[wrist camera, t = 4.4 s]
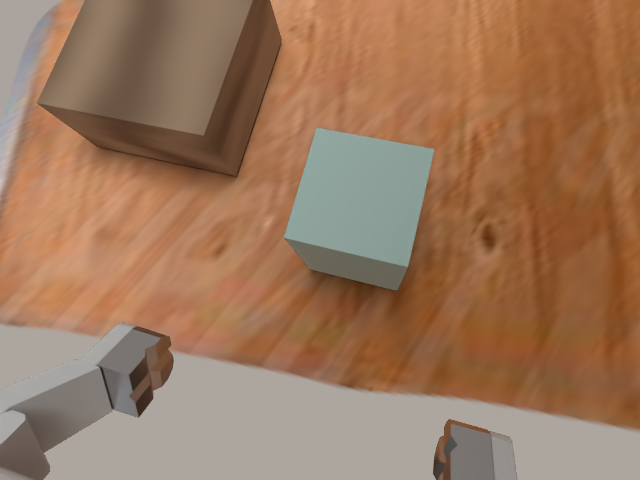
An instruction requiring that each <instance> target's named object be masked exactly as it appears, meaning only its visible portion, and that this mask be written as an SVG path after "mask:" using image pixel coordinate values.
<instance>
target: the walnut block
mask: <svg viewBox="0 0 640 480" xmlns="http://www.w3.org/2000/svg"><path fill="white" fill-rule="evenodd" d="M281 41H282V39H281V36H280V32H279V29H278V26H277V22H276V19H275V16H274V12H273V9H272V5H271V2H270V0H85V1H84V4H83V6H82V8H81V10H80V12H79V14H78V16H77V19H76V21H75V23H74V25H73V27H72V29H71V31H70V33H69V36H68V38H67V40H66V42H65V44H64V46H63V48H62V50H61V53H60V55H59V57H58V59H57V61H56V63H55V65H54V68H53V70H52V72H51V74H50V76H49V78H48V80H47V82H46V85H45V87H44V89H43V91H42V93H41V95H40V97H39V100H38V102H37V104H39V105H40V106H42V107H43V108H44V109H46V110H47V111H49V112H50V113H51V114H53V115H54V116H55V117H57V118H58V119H60V120H61V121H62V122H64V123H65V124H66V125H68V126H69V127H71V128H72V129H73V130H75V131H76V132H78V133H79V134H80V135H82V136H83V137H84V138H86V139H87V140H89V141H90V142H91V143H93V144H94V145H96V146H97V147H101V148H106V149H111V150H116V151H120V152H125V153H130V154H134V155H139V156H144V157H149V158H153V159H158V160H163V161H168V162H172V163H177V164H182V165H186V166H191V167H196V168H201V169H205V170H210V171H215V172H220V173H224V174H229V175H234V176H236V175H237V172H238V169H239V166H240V163H241V160H242V157H243V154H244V151H245V148H246V145H247V142H248V139H249V136H250V133H251V130H252V127H253V124H254V121H255V118H256V115H257V112H258V109H259V106H260V103H261V101H262V98H263V95H264V92H265V89H266V86H267V83H268V80H269V77H270V74H271V71H272V68H273V65H274V62H275V59H276V56H277V53H278V50H279V47H280V44H281Z"/></svg>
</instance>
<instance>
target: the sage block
mask: <svg viewBox="0 0 640 480" xmlns="http://www.w3.org/2000/svg"><path fill="white" fill-rule="evenodd" d="M434 150H435V149H432V148H426V147H421V146H415V145H409V144H404V143H398V142H393V141H387V140H382V139H376V138H371V137H365V136H360V135H354V134H349V133H343V132H338V131H332V130H327V129H321V128H316V131H315V135H314V138H313V141H312V145H311V148H310V151H309V155H308V158H307V161H306V165H305V168H304V172H303V175H302V178H301V182H300V185H299V188H298V192H297V195H296V198H295V202H294V205H293V208H292V212H291V215H290V219H289V222H288V225H287V229H286V232H285V235H284V239H285V240H286V241H287V242H288V243H289V245H290V246H291V247H292V248H293V249H294V251H295V252H296V253H297V254H298V256H299V257H300V258H301V259H302V260H303V262H304V263H305V264H306V265H307V266H308V268H309V269H311V270H315V271H319V272H323V273H327V274H331V275H335V276H339V277H343V278H347V279H351V280H355V281H359V282H363V283H367V284H371V285H375V286H379V287H383V288H387V289H391V290H395V291H398V289H399V286H400V284H401V282H402V280H403V277H404V275H405V273H406V271H407V268H408V265H409V261H410V256H411V252H412V247H413V243H414V238H415V234H416V230H417V225H418V221H419V216H420V212H421V207H422V203H423V198H424V194H425V190H426V185H427V181H428V176H429V172H430V167H431V163H432V158H433V154H434Z"/></svg>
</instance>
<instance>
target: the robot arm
mask: <svg viewBox="0 0 640 480" xmlns="http://www.w3.org/2000/svg"><path fill="white" fill-rule="evenodd" d="M170 346H171V341H170V337H169V336H166V335H163V334H160V333H157V332H154V331H151V330H147V329H144V328H141V327H138V326H135V325H132V324H129V323H125V322H122V323H119V324H117V325H116V326H115V327H114V328H113V329H112V330H111V331H110V332H109V333H108V334H107V335H106V336H105V337H103V338H102V339H101V340H100V341H99V342H98V343H97V344H96V345H95V346H94V347H93V348H92V349H91V350H90V351H89V352H88V353H87V354H86V355H85V356H84V357H83V358H82V359H81V360H76V359H75V360H72V361H69V362H67V363H65V364H62V365H59V366H57V367H54V368H52V369H49V370H47V371H44V372H42V373H39V374H37V375H34V376H32V377H29V378H27V379H24V380H22V381H20V382H17V383H14V384H12V385H9V386H7V387H4V388H2V389H0V480H43V479H44V478H45V477H46V476H47V474H48V473H49V472H50V465H49V463H48V461H47V459H46V457H45V455H44V452H46V451H48V450H49V449H51V448H53V447H54V446H56V445H57V444H59V443H61V442H62V441H64V440H66V439H67V438H69V437H71V436H72V435H74V434H76V433H77V432H79V431H81V430H82V429H84V428H86V427H87V426H89V425H91V424H92V423H94V422H95V421H97V420H99V419H100V418H102V417H104V416H105V415H107V414H109V413H110V412H112V409H113V410H116V411H119V412H123V413H126V414H129V415H132V416H135V417H140V415H141V414H142V413H143V411H144V410H145V409H146V407H147V406H148V405H149V403H150V402H151V401H152V400H153V391H154V390H156V389H158V388H160V387H162V386H163V385H164V383H165V382H166V381H167V379H168V378H169V375H170V373H171V371H172V368H173V362H174V361H173V355H172V354H171V352H170V351H169V350H168V348H169V347H170ZM433 474H434V476H435V478H436V480H517V475H516V467H515V460H514V452H513V446H512V441H511V439H510V437H508V436H505V435H501V434H498V433H495V432H491V431H488V430H486V429H482V428H479V427H476V426H472V425H468V424H465V423H461V422H458V421H454V420H450V419H449V420H448V421H447V422H446V424H445V427H444V436H442V437H440V439H439V441H438V444H437V447H436V452H435V457H434V468H433Z"/></svg>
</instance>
